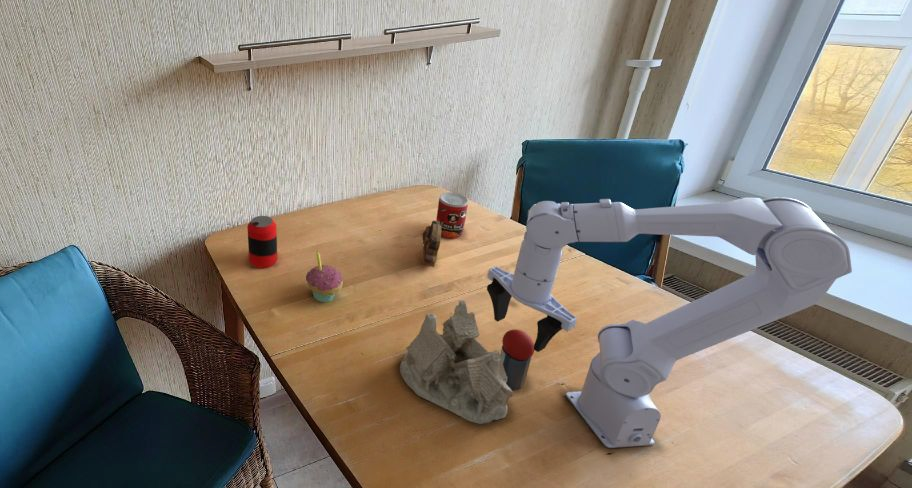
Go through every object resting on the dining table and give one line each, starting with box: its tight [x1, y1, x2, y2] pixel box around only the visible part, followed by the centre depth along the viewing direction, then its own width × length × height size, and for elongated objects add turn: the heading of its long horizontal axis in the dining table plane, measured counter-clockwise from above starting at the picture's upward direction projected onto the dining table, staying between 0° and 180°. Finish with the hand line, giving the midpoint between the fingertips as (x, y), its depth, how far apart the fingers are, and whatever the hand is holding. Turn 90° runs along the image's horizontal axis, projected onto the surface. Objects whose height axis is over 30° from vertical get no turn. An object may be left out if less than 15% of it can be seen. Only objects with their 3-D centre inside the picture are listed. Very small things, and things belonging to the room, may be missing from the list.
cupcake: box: [305, 250, 344, 303], centre depth 99 cm, size 9×8×12 cm
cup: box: [499, 344, 532, 390], centre depth 78 cm, size 5×5×6 cm
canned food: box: [435, 191, 469, 239], centre depth 123 cm, size 8×8×11 cm
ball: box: [501, 328, 535, 360], centre depth 76 cm, size 5×5×5 cm
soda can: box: [246, 215, 278, 269], centre depth 112 cm, size 8×8×12 cm
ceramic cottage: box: [399, 300, 514, 425], centre depth 75 cm, size 16×16×15 cm
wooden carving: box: [421, 220, 442, 268], centre depth 112 cm, size 16×5×10 cm, turn 165°
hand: (518, 333), depth 76 cm, fingers open, 7 cm apart
